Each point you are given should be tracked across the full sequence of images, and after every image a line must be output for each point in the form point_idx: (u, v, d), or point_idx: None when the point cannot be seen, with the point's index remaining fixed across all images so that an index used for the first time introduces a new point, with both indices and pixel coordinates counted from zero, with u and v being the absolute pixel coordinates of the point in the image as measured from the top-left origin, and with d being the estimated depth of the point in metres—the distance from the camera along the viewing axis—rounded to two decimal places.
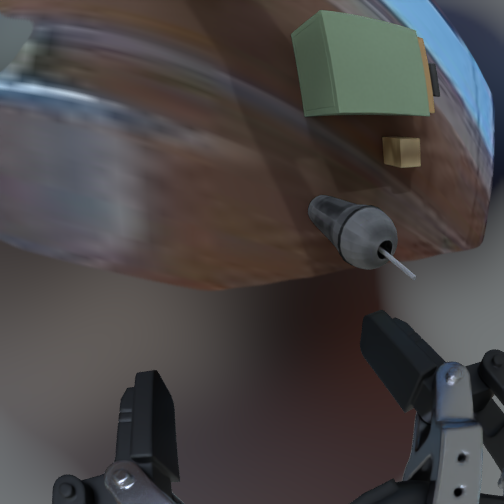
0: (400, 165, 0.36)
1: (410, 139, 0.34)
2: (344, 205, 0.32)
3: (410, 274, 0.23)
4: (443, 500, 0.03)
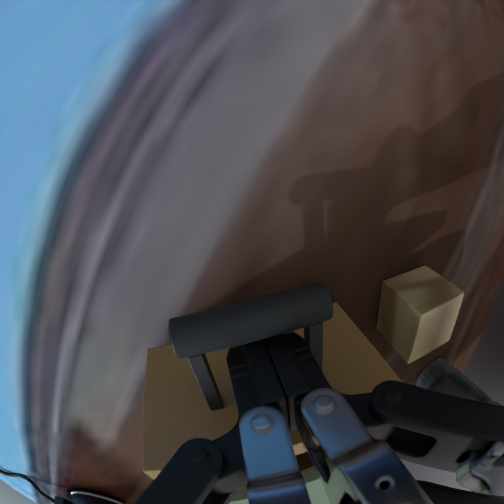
0: None
1: (417, 339, 0.15)
2: None
3: None
4: None
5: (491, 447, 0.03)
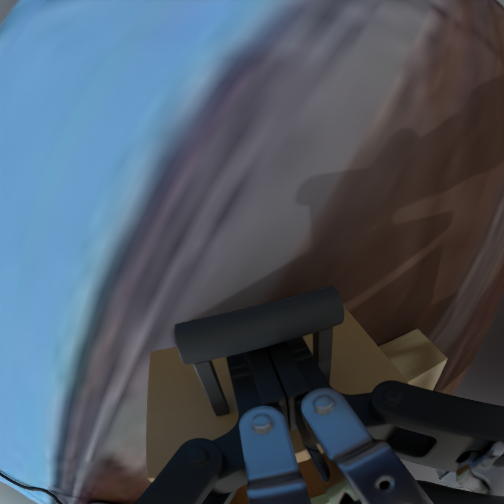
0: None
1: None
2: None
3: None
4: None
5: (491, 447, 0.03)
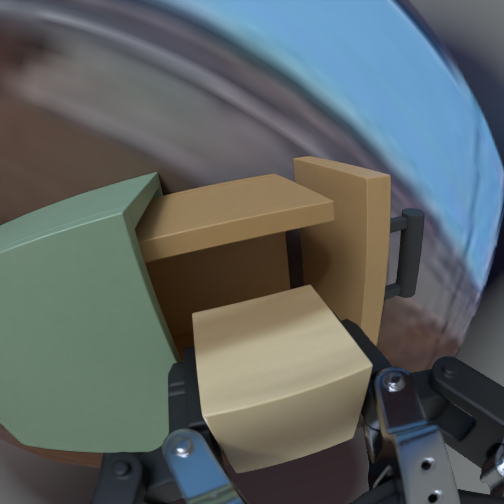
0: None
1: (297, 398, 0.06)
2: None
3: None
4: None
5: None
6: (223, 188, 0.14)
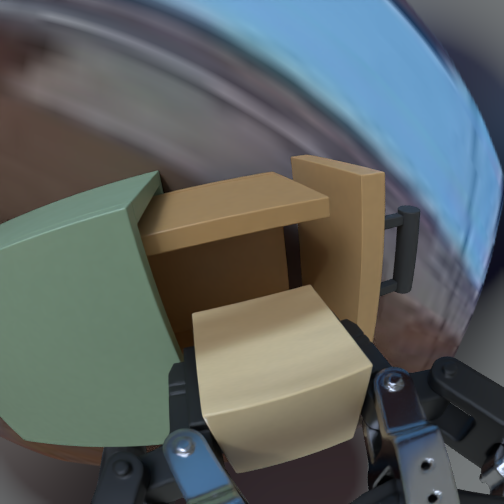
0: None
1: (297, 398, 0.06)
2: None
3: None
4: None
5: None
6: (222, 186, 0.14)
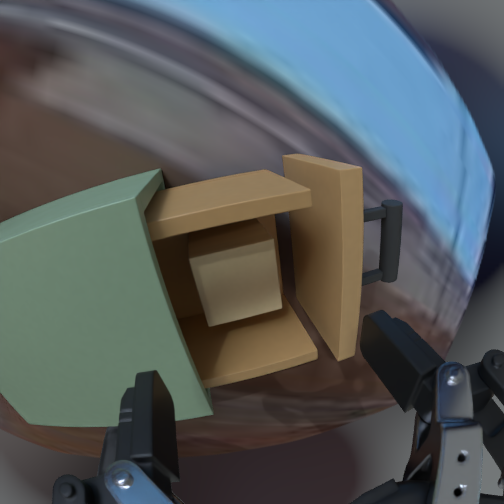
0: (207, 320, 0.16)
1: (233, 252, 0.14)
2: None
3: None
4: (443, 500, 0.03)
5: None
6: (219, 182, 0.16)
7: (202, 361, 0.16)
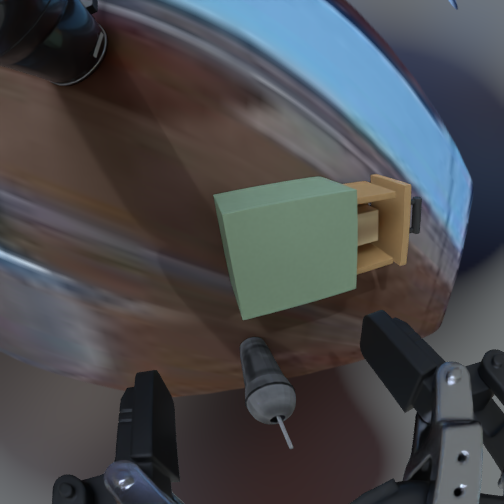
0: None
1: (365, 214, 0.34)
2: (257, 371, 0.38)
3: (288, 445, 0.29)
4: (443, 500, 0.03)
5: None
6: (352, 185, 0.35)
7: None
